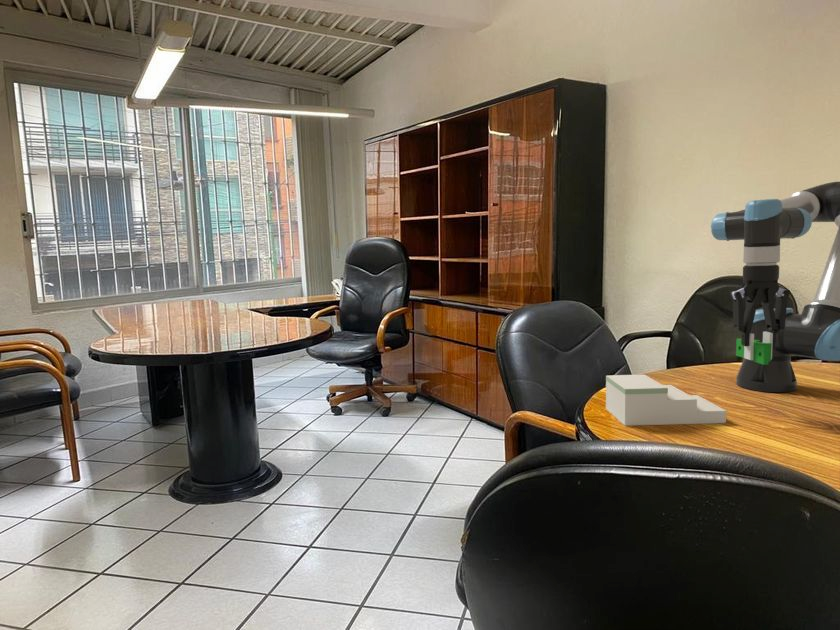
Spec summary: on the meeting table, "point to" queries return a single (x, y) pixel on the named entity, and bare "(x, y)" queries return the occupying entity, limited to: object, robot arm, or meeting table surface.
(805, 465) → the meeting table surface
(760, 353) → the pipe clamp
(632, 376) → the stepped riser
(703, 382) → the meeting table surface
